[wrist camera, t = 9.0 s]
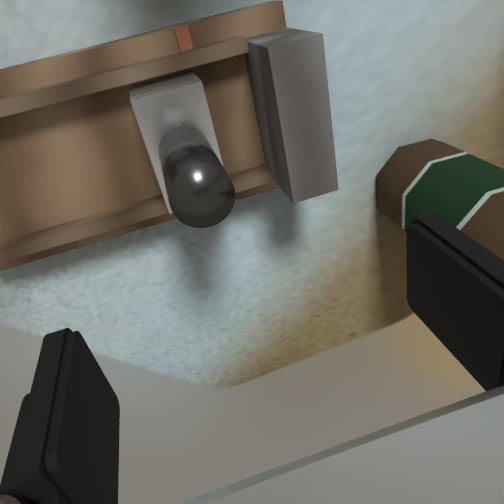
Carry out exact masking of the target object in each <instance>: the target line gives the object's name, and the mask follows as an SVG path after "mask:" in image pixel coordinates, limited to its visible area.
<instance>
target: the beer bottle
mask: <svg viewBox="0 0 504 504" xmlns="http://www.w3.org/2000/svg"><path fill="white" fill-rule="evenodd" d="M377 205H378V207H379V208H380V209H381V210H382V211H383V212H384V213H385V214H386V215H387V216H388V217H389V218H390V219H392V220H393V221H394V222H395V223H396V224H398V225H399V226H400V227H401V228H403V229H404V230H405V231H406V232H407V227H408V226H409V225H411V222H412V220H413V219H414V218H416V217H420V216H423V215H426V214H429V213H436V214H437V215H439V216H440V217H442V218H443V219H445V220H446V221H447V222H449V223H450V224H452V225H453V226H455V227H456V228H458V229H459V230H460V231H462V232H463V233H465V234H466V235H468V236H469V237H470V238H472V239H473V240H475V241H476V242H478V243H479V244H480V245H482V246H483V247H485V248H486V249H488V250H489V251H490V252H492V253H493V254H495V255H496V256H498V257H499V258H500V259H502V260H503V261H504V169H502V168H500V167H498V166H495V165H493V164H491V163H489V162H486V161H484V160H482V159H480V158H477V157H475V156H473V155H471V154H468V153H466V152H464V151H462V150H459V149H457V148H455V147H453V146H450V145H448V144H446V143H443V142H440V141H437V140H434V139H429V140H425V141H421V142H417V143H414V144H410V145H406V146H402V147H398V149H397V150H396V151H395V152H394V154H393V155H392V156H391V158H390V159H389V160H388V161H387V163H386V164H385V165H384V167H383V168H382V169H381V170H380V172H379V173H378V174H377Z"/></svg>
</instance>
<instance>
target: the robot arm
mask: <svg viewBox="0 0 504 504" xmlns="http://www.w3.org/2000/svg"><path fill="white" fill-rule="evenodd" d="M407 300H408V304H409V306H410V308H411V309H412V310H413V312H414V313H415V314H416V315H417V316H418V317H419V318H420V319H421V320H422V321H423V322H424V324H425V325H426V326H427V327H428V328H429V329H430V330H431V331H432V332H433V333H434V335H435V336H436V337H437V338H438V339H439V340H440V341H441V342H442V343H443V344H444V345H445V347H446V348H447V349H448V350H449V351H450V352H451V353H452V354H453V355H454V357H455V358H456V359H457V360H458V361H459V362H460V363H461V364H462V365H463V366H464V367H465V369H466V370H467V371H468V372H469V373H470V374H471V375H472V376H473V377H474V378H475V380H476V381H477V382H478V383H479V384H480V385H481V386H482V387H483V388H484V389H485V390H486V392H483V393H481V394H478V395H475V396H472V397H469V398H467V399H464V400H461V401H458V402H456V403H453V404H450V405H447V406H444V407H442V408H439V409H436V410H433V411H431V412H428V413H425V414H422V415H419V416H417V417H414V418H411V419H408V420H405V421H403V422H400V423H397V424H394V425H392V426H389V427H386V428H384V429H381V430H378V431H375V432H373V433H370V434H367V435H364V436H362V437H359V438H357V439H353V440H351V441H348V442H345V443H342V444H340V445H337V446H334V447H332V448H329V449H326V450H323V451H321V452H318V453H315V454H313V455H310V456H307V457H304V458H302V459H299V460H296V461H294V462H291V463H288V464H285V465H283V466H280V467H277V468H275V469H272V470H269V471H267V472H264V473H261V474H258V475H256V476H253V477H250V478H248V479H245V480H242V481H240V482H237V483H234V484H231V485H229V486H226V487H223V488H221V489H218V490H216V491H213V492H210V493H208V494H205V495H202V496H199V497H197V498H194V499H191V500H189V501H186V502H183V503H181V504H504V261H503V260H502V259H500V258H499V257H498V256H496V255H495V254H493V253H492V252H490V251H489V250H488V249H486V248H485V247H483V246H482V245H480V244H479V243H478V242H476V241H475V240H473V239H472V238H470V237H469V236H468V235H466V234H465V233H463V232H462V231H460V230H459V229H458V228H456V227H455V226H453V225H452V224H450V223H449V222H447V221H446V220H445V219H443V218H442V217H440V216H439V215H437V214H436V213H429V214H426V215H423V216H420V217H416V218H414V219H413V220H412V222H411V225H409V226H408V227H407ZM119 415H120V407H119V402H118V399H117V396H116V394H115V392H114V391H113V389H112V387H111V385H110V384H109V382H108V380H107V379H106V377H105V375H104V373H103V372H102V370H101V368H100V366H99V365H98V363H97V361H96V359H95V358H94V356H93V354H92V352H91V351H90V349H89V347H88V346H87V344H86V342H85V340H84V339H83V337H82V335H81V334H80V332H79V331H74V332H72V331H71V330H70V329H69V328H66V329H63V330H59V331H56V332H53V333H50V334H47V335H45V337H44V339H43V343H42V347H41V351H40V355H39V360H38V364H37V367H36V372H35V376H34V380H33V384H32V388H31V392H30V393H29V394H27V395H26V396H25V397H24V399H23V401H22V404H21V408H20V412H19V415H18V419H17V423H16V427H15V431H14V434H13V438H12V443H11V446H10V450H9V453H8V457H7V461H6V465H5V469H4V473H3V477H2V480H1V484H0V504H118V467H119V418H120V416H119Z"/></svg>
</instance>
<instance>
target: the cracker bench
mask: <svg viewBox="0 0 504 504" xmlns="http://www.w3.org/2000/svg"><path fill="white" fill-rule="evenodd" d="M191 71H193V73H194V74H195V75H196V76H197V77H198V78H199V79H200V80H201V81H202V84H203V88H204V92H205V96H206V100H207V104H208V108H209V112H210V116H211V119H212V123H213V127H214V131H215V135H216V139H217V143H218V147H219V151H220V155H221V159H222V163H223V167H224V169H225V171H226V172H227V174H228V176H229V177H230V179H231V181H232V183H233V185H234V188H235V200H238V199H241V198H245V197H248V196H251V195H255V194H258V193H261V192H265V191H268V190H271V189H274V188H278V187H281V189H282V190H283V191H284V192H285V193H286V195H287V196H288V197H289V198H290V199H291V201H292V202H293V203H297V202H300V201H303V200H306V199H310V198H313V197H316V196H319V195H323V194H326V193H329V192H333V191H336V190H338V180H337V170H336V160H335V150H334V141H333V131H332V121H331V111H330V101H329V91H328V81H327V72H326V62H325V52H324V42H323V34H322V33H316V32H310V31H304V30H298V29H292V28H286V22H285V15H284V8H283V1H270V2H266V3H262V4H258V5H254V6H250V7H246V8H242V9H239V10H235V11H231V12H227V13H223V14H219V15H215V16H211V17H207V18H203V19H199V20H195V21H191V22H187V23H183V24H179V25H175V26H171V27H167V28H163V29H159V30H155V31H151V32H147V33H143V34H139V35H135V36H131V37H127V38H123V39H119V40H115V41H111V42H107V43H103V44H100V45H96V46H92V47H88V48H84V49H80V50H76V51H72V52H68V53H64V54H60V55H56V56H52V57H48V58H44V59H40V60H36V61H32V62H28V63H24V64H20V65H16V66H12V67H8V68H4V69H0V271H2V270H5V269H8V268H12V267H15V266H18V265H22V264H25V263H28V262H32V261H35V260H38V259H42V258H45V257H48V256H52V255H55V254H58V253H62V252H65V251H68V250H72V249H75V248H78V247H82V246H85V245H88V244H92V243H95V242H98V241H102V240H105V239H108V238H112V237H115V236H118V235H122V234H125V233H128V232H131V231H135V230H138V229H141V228H145V227H148V226H151V225H155V224H158V223H161V222H165V221H168V220H171V219H175V218H176V217H175V215H174V214H173V213H171V214H169V211H168V208H167V205H166V202H165V200H164V197H163V194H162V191H161V188H160V185H159V182H158V179H157V177H156V174H155V171H154V168H153V165H152V162H151V159H150V156H149V154H148V151H147V148H146V145H145V142H144V139H143V136H142V133H141V131H140V128H139V125H138V122H137V119H136V116H135V113H134V110H133V108H132V105H131V102H130V90H129V88H130V87H134V86H138V85H142V84H146V83H149V82H153V81H157V80H161V79H164V78H168V77H172V76H176V75H180V74H183V73H187V72H191Z"/></svg>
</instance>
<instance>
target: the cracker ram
mask: <svg viewBox="0 0 504 504" xmlns="http://www.w3.org/2000/svg"><path fill="white" fill-rule="evenodd" d="M129 90H130V102H131V105H132V108H133V110H134V113H135V116H136V119H137V122H138V125H139V128H140V131H141V133H142V136H143V139H144V142H145V145H146V148H147V151H148V154H149V156H150V159H151V162H152V165H153V168H154V171H155V174H156V177H157V179H158V182H159V185H160V188H161V191H162V194H163V197H164V200H165V202H166V205H167V208H168V211H169V214H171V213H173V214H174V215H175V217H176V218H177V219H178V220H179V221H181V222H182V223H184V224H186V225H188V226H191V227H196V228H206V227H210V226H213V225H216V224H218V223H219V222H221V221H222V220H224V219H225V218H226V217H227V216H228V215H229V213H230V212H231V210H232V208H233V206H234V202H235V188H234V185H233V183H232V181H231V179H230V177H229V176H228V174H227V172H226V171H225V169H224V167H223V163H222V159H221V155H220V151H219V147H218V143H217V139H216V135H215V131H214V127H213V123H212V119H211V116H210V112H209V108H208V104H207V100H206V96H205V92H204V88H203V84H202V81H201V80H200V79H199V78H198V77H197V76H196V75H195V74H194V73H193V71H191V72H187V73H183V74H180V75H176V76H172V77H168V78H164V79H161V80H157V81H153V82H149V83H146V84H142V85H138V86H134V87H130V88H129Z"/></svg>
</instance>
